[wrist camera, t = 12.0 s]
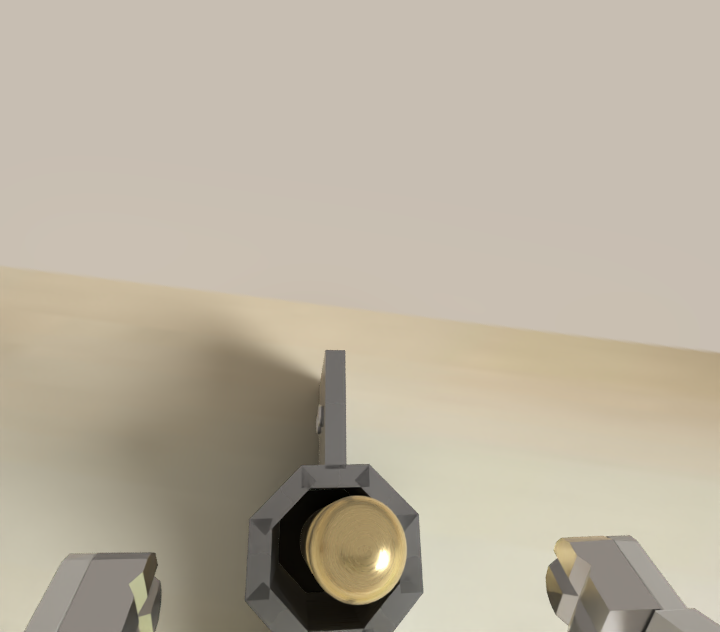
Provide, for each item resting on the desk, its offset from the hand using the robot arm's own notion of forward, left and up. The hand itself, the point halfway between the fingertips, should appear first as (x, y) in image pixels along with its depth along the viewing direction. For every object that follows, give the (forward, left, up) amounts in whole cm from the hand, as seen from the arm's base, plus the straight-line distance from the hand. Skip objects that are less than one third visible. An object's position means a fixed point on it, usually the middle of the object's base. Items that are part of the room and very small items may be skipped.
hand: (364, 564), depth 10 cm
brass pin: (0, +1, -15) cm, 15 cm away
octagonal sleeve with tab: (0, +1, -15) cm, 15 cm away
